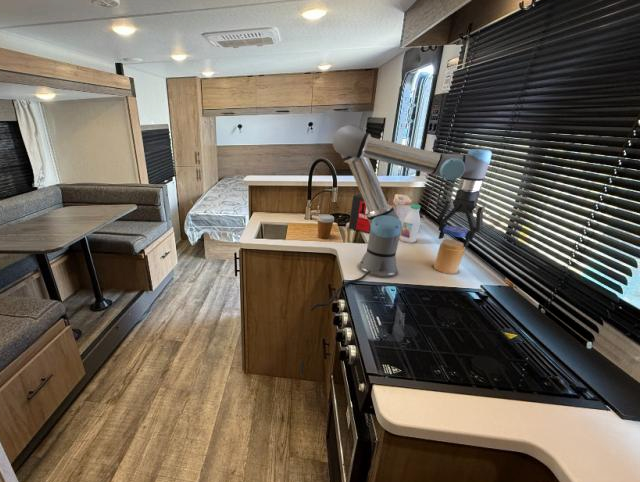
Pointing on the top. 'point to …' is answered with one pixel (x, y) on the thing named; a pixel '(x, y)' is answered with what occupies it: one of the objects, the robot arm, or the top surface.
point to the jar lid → (455, 231)
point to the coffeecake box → (402, 206)
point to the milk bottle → (411, 225)
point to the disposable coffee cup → (325, 225)
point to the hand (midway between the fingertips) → (452, 241)
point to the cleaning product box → (359, 215)
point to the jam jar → (449, 256)
